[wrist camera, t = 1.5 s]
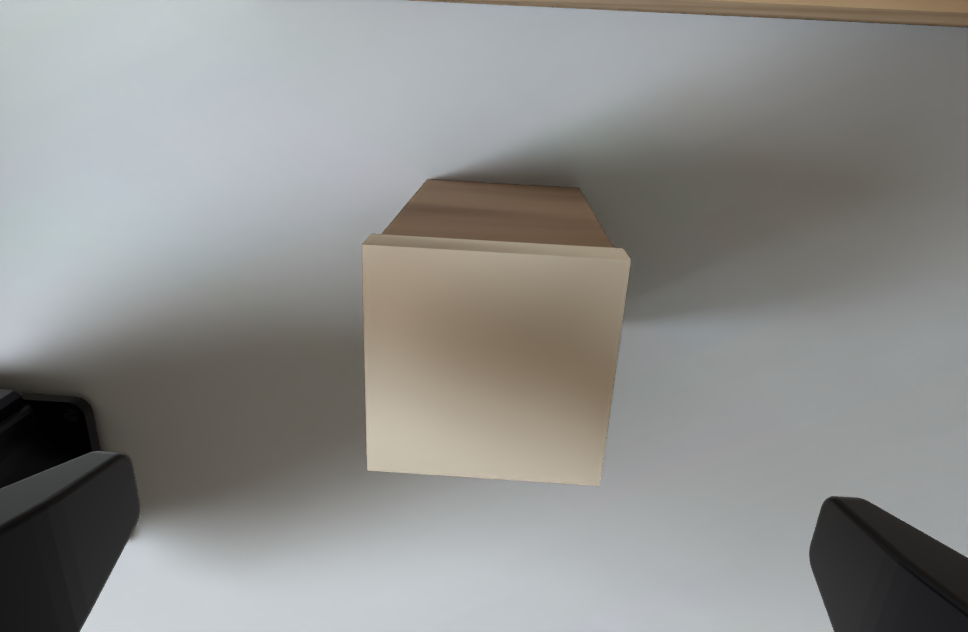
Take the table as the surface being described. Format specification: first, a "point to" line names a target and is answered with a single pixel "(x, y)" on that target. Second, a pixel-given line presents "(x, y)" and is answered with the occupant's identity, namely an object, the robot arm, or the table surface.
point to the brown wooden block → (492, 334)
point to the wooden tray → (779, 9)
